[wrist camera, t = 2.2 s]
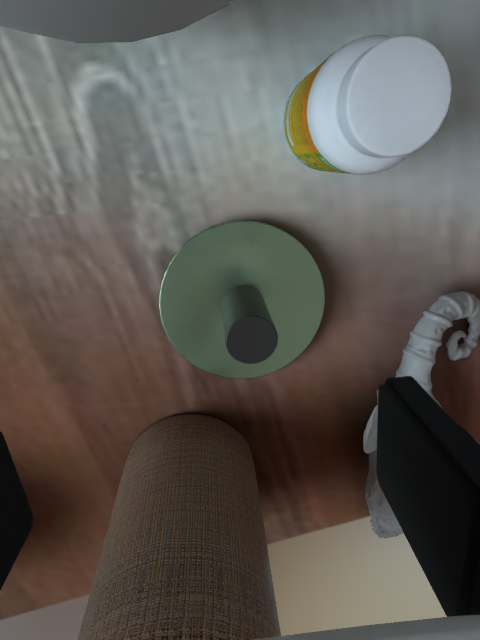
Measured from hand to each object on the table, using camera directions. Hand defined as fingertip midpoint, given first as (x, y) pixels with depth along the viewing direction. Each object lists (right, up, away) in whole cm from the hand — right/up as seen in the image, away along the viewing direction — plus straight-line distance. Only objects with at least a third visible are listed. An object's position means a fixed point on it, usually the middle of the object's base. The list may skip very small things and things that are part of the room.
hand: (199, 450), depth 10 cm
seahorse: (+17, +5, +17) cm, 25 cm away
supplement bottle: (+6, +15, +14) cm, 21 cm away
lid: (+1, +4, +17) cm, 17 cm away
